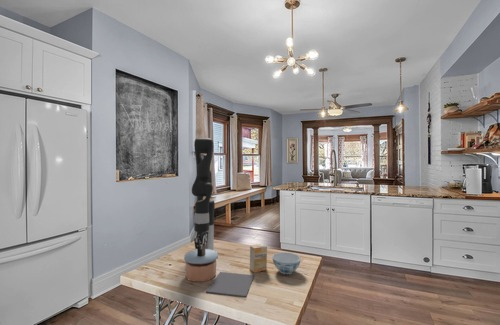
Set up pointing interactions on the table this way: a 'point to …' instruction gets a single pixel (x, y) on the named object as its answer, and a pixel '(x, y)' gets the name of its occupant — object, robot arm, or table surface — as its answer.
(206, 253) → the lid
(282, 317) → the table surface
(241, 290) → the mat
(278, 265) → the chinaware
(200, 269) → the bowl
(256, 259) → the supplement box
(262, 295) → the table surface
